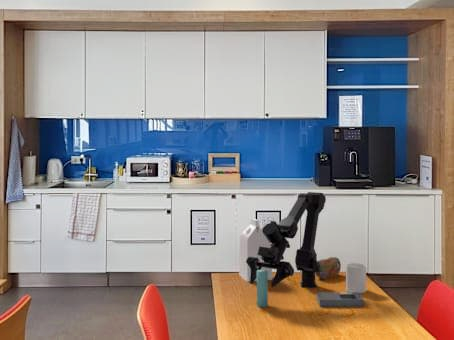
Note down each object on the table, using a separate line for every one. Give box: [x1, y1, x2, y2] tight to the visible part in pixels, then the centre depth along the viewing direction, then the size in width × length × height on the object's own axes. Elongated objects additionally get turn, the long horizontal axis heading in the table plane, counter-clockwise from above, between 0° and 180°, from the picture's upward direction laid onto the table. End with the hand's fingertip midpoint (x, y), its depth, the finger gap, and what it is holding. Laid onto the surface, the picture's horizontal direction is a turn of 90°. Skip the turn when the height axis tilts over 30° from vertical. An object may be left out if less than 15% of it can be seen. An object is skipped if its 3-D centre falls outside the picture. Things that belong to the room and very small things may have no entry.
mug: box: [345, 262, 367, 294], centre depth 237 cm, size 12×8×10 cm, turn 1°
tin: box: [315, 256, 342, 280], centre depth 258 cm, size 15×3×8 cm, turn 131°
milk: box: [238, 218, 273, 283], centre depth 259 cm, size 12×12×26 cm
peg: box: [256, 270, 269, 308], centre depth 218 cm, size 4×4×13 cm
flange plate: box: [316, 291, 365, 308], centre depth 220 cm, size 10×16×3 cm, turn 88°
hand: (261, 285), depth 217 cm, fingers open, 9 cm apart
